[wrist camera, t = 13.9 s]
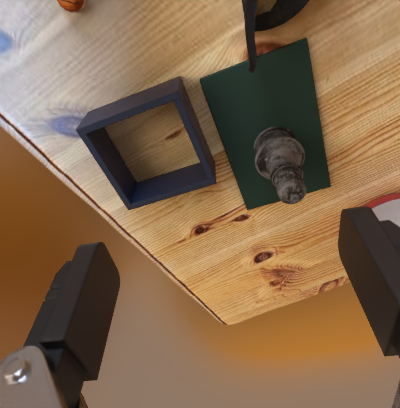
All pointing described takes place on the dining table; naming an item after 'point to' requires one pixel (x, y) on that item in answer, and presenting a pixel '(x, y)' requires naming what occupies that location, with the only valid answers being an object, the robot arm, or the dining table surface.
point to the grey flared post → (281, 162)
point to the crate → (115, 165)
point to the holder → (266, 21)
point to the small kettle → (72, 5)
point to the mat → (268, 116)
